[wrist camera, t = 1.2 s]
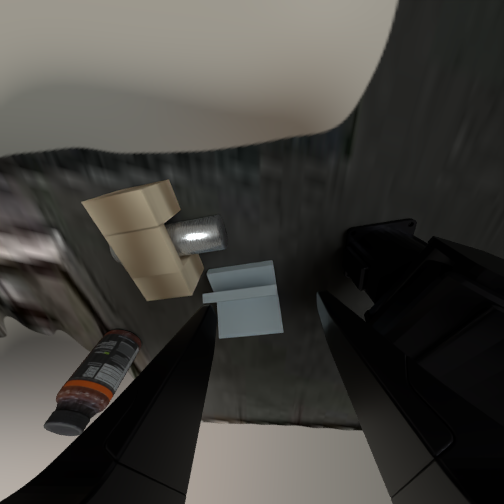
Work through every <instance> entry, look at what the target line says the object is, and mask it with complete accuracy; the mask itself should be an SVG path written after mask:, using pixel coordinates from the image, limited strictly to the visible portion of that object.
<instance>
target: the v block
mask: <svg viewBox="0 0 504 504" xmlns="http://www.w3.org/2000/svg"><path fill="white" fill-rule="evenodd" d="M207 277H208V279H209V282H210V284H211V287H212V289H213V292H214V293H206V294H203V303H215V302H217V312H218V328H219V339H221V338H232V337H242V336H253V335H263V334H274V333H283V325H282V319H281V318H282V317H281V310H280V304H279V298H278V291H277V285H276V279H275V273H274V266H273V260H270V261H263V262H256V263H249V264H242V265H235V266H228V267H221V268H215V269H209V270H208V272H207Z"/></svg>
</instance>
